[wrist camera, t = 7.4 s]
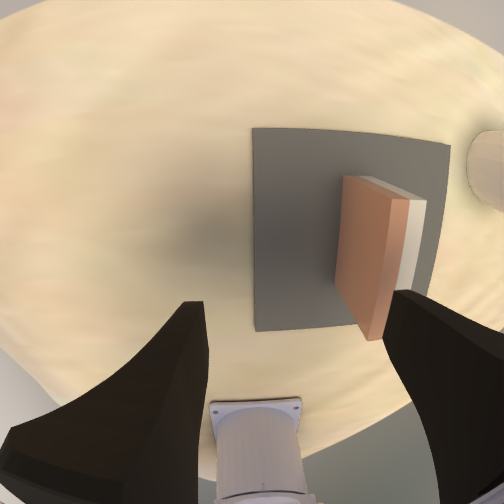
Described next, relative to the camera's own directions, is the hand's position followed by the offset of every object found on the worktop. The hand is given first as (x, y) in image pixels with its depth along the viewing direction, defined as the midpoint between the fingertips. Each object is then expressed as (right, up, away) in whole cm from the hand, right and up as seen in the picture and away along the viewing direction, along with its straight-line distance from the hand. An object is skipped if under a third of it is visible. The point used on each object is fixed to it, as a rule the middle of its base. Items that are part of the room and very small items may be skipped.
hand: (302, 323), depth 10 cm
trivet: (+5, +3, +9) cm, 11 cm away
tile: (+4, +3, +8) cm, 10 cm away
